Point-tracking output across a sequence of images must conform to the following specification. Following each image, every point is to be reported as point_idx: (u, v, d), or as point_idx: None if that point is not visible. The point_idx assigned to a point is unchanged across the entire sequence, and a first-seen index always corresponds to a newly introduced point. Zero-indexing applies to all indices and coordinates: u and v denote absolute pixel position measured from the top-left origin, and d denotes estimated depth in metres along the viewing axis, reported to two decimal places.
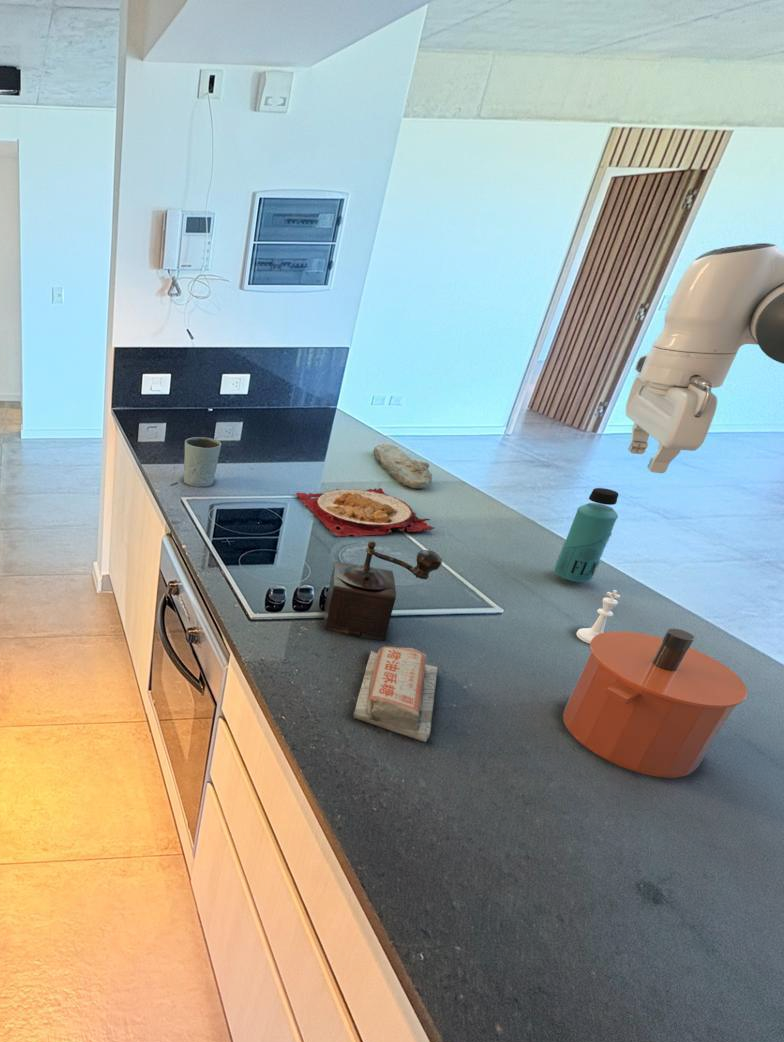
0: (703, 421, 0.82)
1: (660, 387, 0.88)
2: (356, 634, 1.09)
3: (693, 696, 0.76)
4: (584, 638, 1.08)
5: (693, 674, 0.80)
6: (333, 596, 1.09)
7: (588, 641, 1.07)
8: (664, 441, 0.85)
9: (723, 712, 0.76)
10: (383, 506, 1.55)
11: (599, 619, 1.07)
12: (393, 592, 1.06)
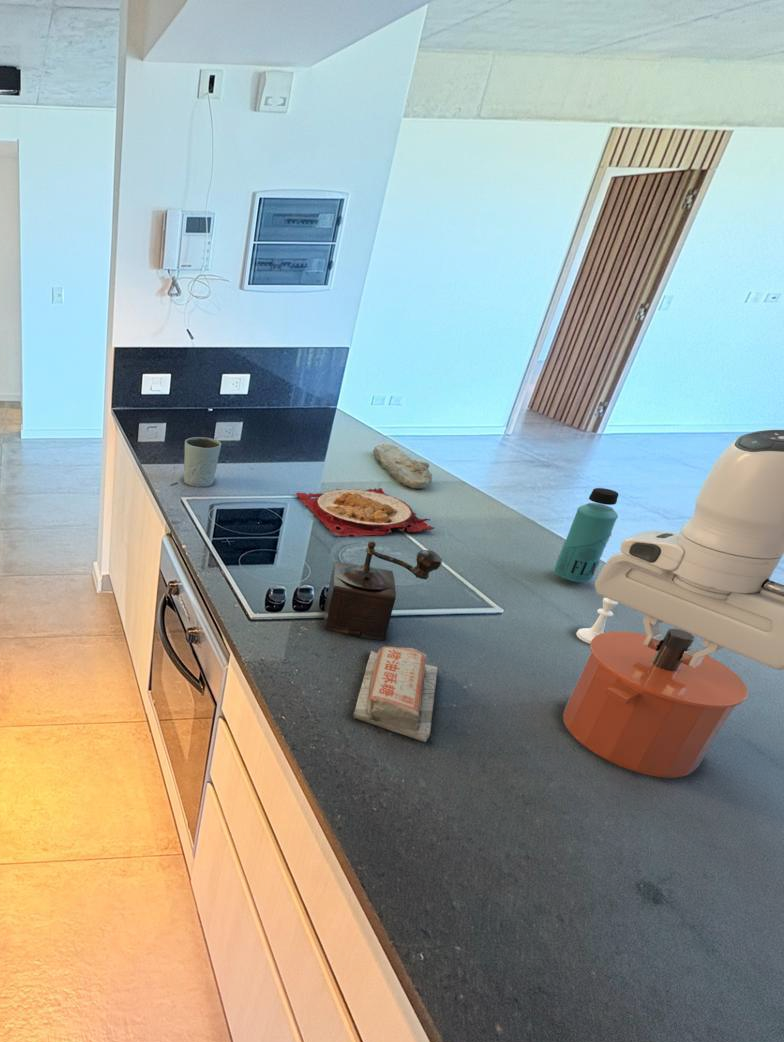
0: None
1: (719, 591, 0.73)
2: (356, 634, 1.09)
3: (693, 696, 0.76)
4: (584, 638, 1.08)
5: (693, 674, 0.80)
6: (333, 596, 1.09)
7: (588, 641, 1.07)
8: (772, 662, 0.71)
9: (723, 712, 0.76)
10: (383, 506, 1.55)
11: (599, 619, 1.07)
12: (392, 592, 1.06)
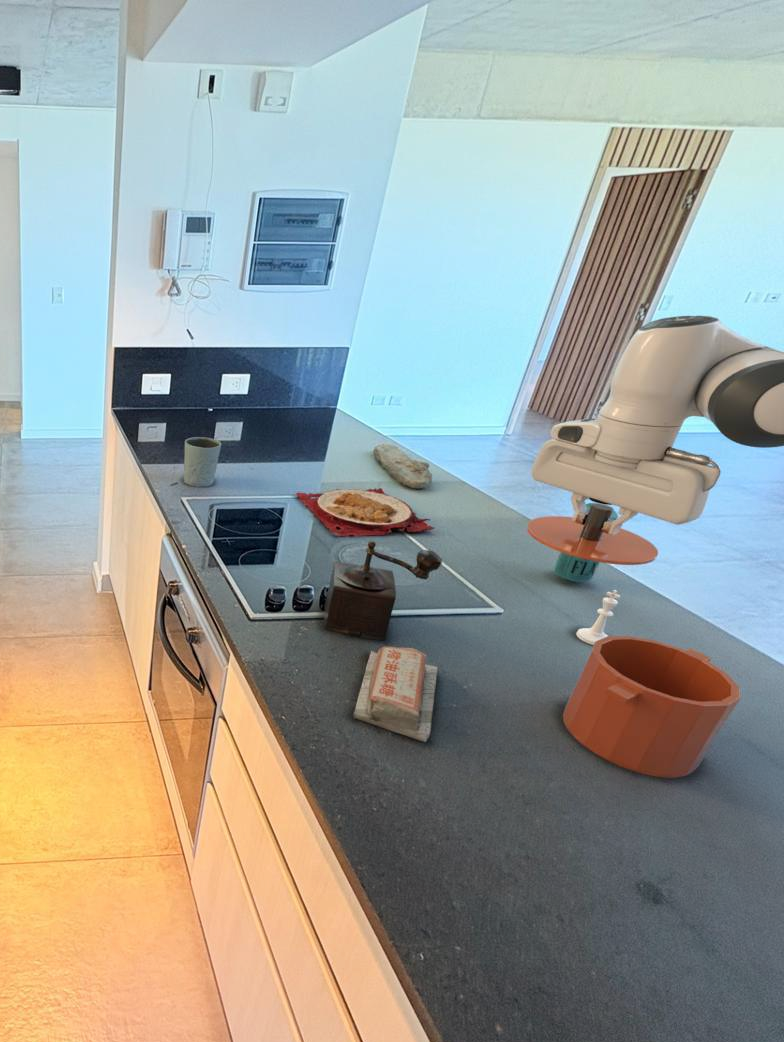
0: (706, 494, 0.80)
1: (630, 461, 0.84)
2: (356, 634, 1.09)
3: (610, 556, 0.87)
4: (584, 638, 1.08)
5: (613, 543, 0.91)
6: (333, 596, 1.09)
7: (588, 641, 1.07)
8: (673, 518, 0.82)
9: (723, 712, 0.76)
10: (383, 506, 1.55)
11: (599, 619, 1.07)
12: (393, 592, 1.06)
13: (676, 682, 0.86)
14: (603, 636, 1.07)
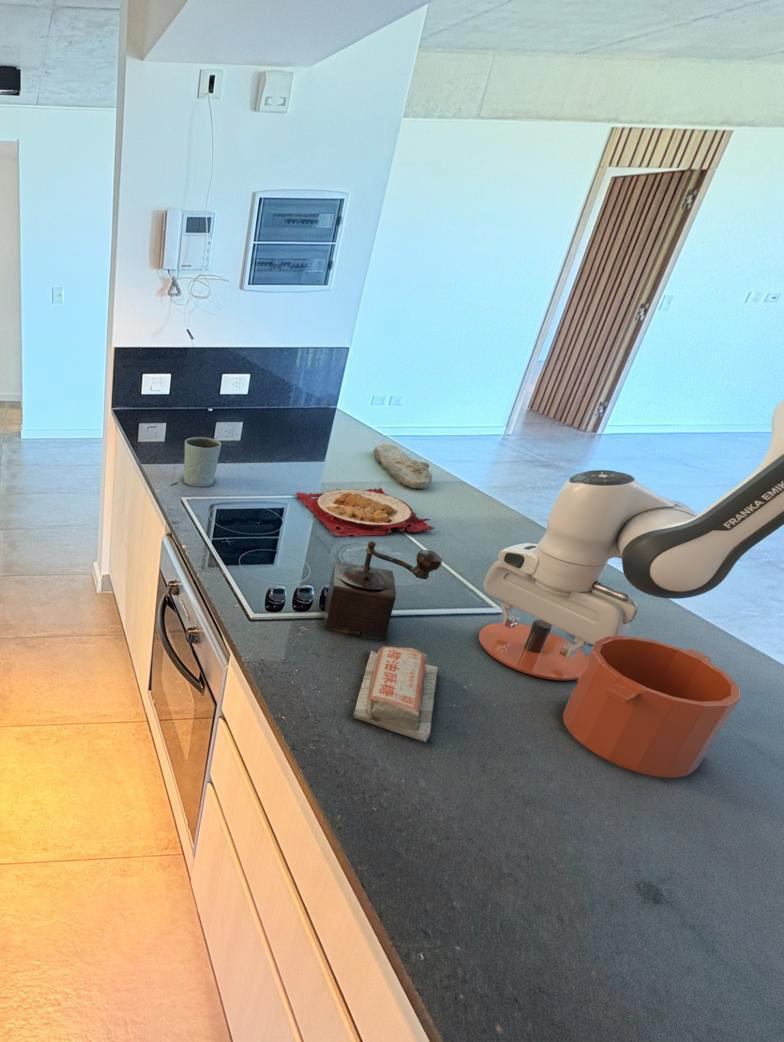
0: (627, 625, 0.92)
1: (563, 590, 0.96)
2: (356, 634, 1.09)
3: (547, 671, 0.99)
4: None
5: (553, 655, 1.03)
6: (333, 596, 1.09)
7: None
8: None
9: (723, 712, 0.76)
10: (383, 506, 1.55)
11: None
12: (392, 592, 1.06)
13: (676, 682, 0.86)
14: None
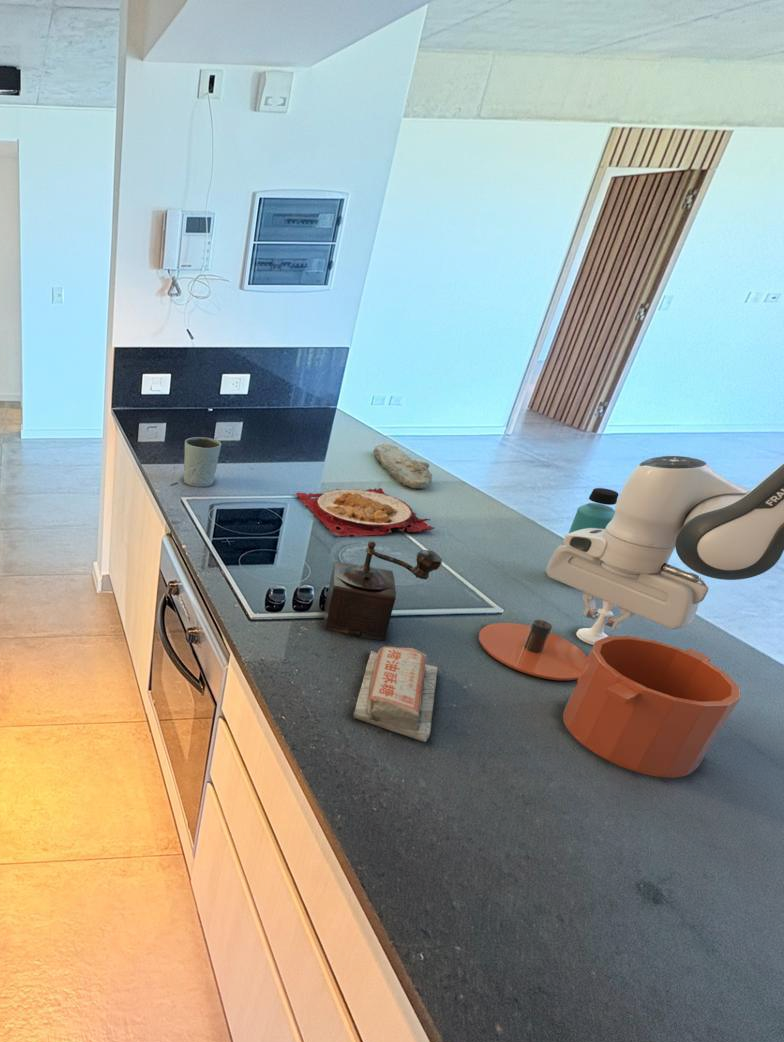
0: (696, 605, 0.95)
1: (632, 572, 0.99)
2: (356, 634, 1.09)
3: (547, 671, 0.99)
4: (584, 638, 1.08)
5: (553, 655, 1.03)
6: (333, 596, 1.09)
7: (588, 641, 1.07)
8: (668, 624, 0.97)
9: (723, 712, 0.76)
10: (383, 506, 1.55)
11: (599, 619, 1.07)
12: (393, 592, 1.06)
13: (676, 682, 0.86)
14: (603, 636, 1.07)
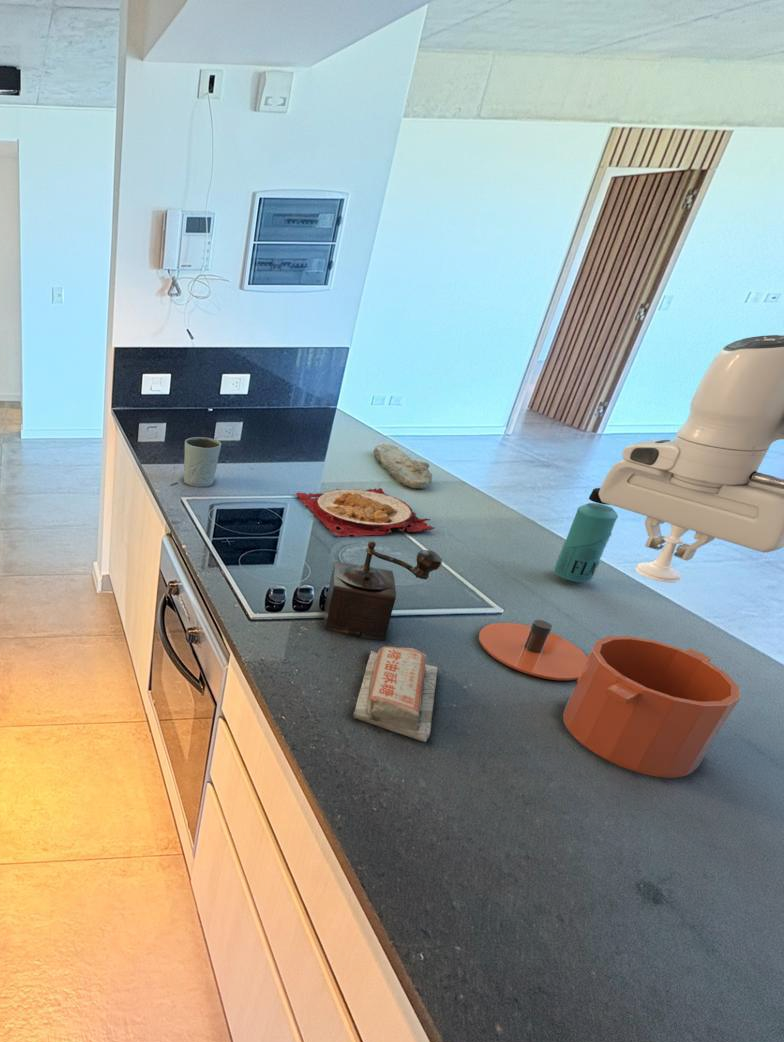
0: None
1: (711, 485, 0.81)
2: (356, 634, 1.09)
3: (547, 671, 0.99)
4: (647, 573, 0.89)
5: (553, 655, 1.03)
6: (333, 596, 1.09)
7: (652, 576, 0.89)
8: (759, 546, 0.78)
9: (723, 712, 0.76)
10: (383, 506, 1.55)
11: (666, 549, 0.88)
12: (393, 592, 1.06)
13: (676, 682, 0.86)
14: (670, 570, 0.89)
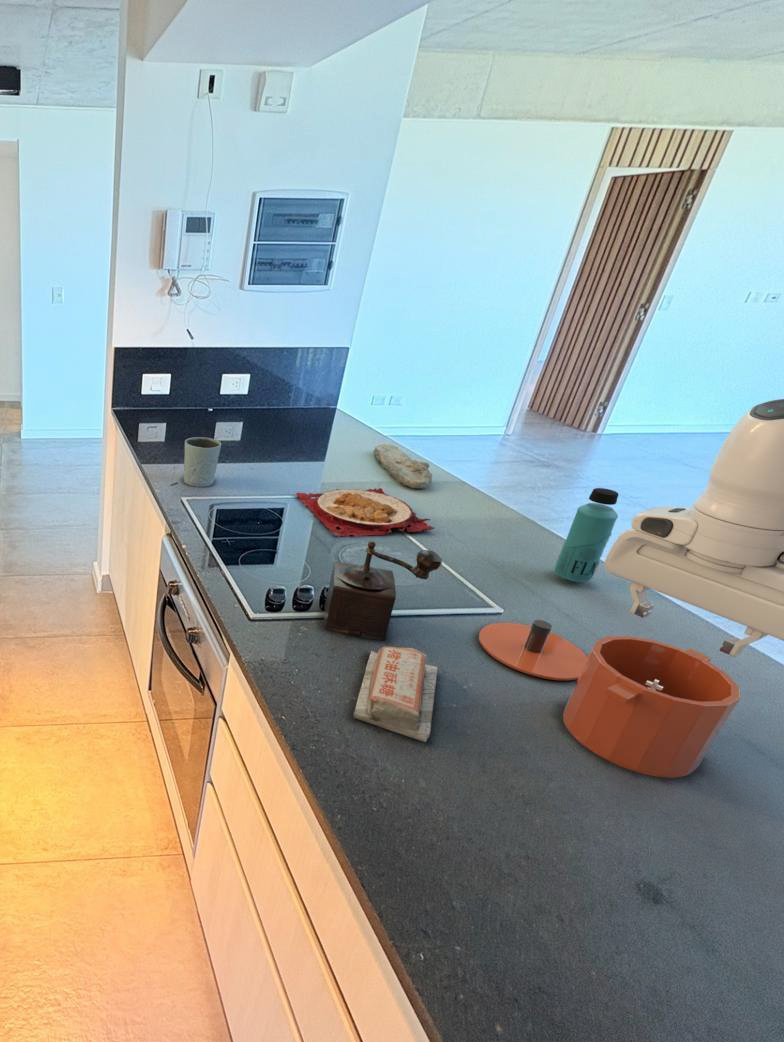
0: None
1: (734, 565, 0.72)
2: (356, 634, 1.09)
3: (547, 671, 0.99)
4: None
5: (553, 655, 1.03)
6: (333, 596, 1.09)
7: None
8: None
9: (723, 712, 0.76)
10: (383, 506, 1.55)
11: None
12: (393, 592, 1.06)
13: (676, 682, 0.86)
14: None
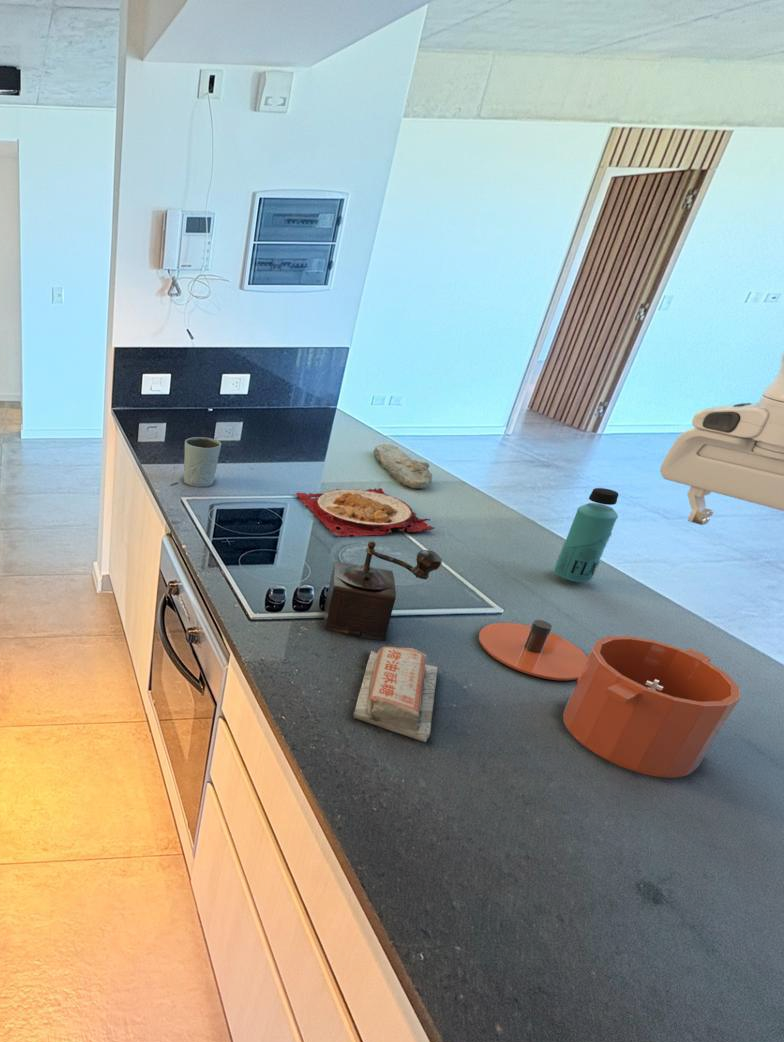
0: None
1: None
2: (356, 634, 1.09)
3: (547, 671, 0.99)
4: None
5: (553, 655, 1.03)
6: (333, 596, 1.09)
7: None
8: None
9: (723, 712, 0.76)
10: (383, 506, 1.55)
11: None
12: (393, 592, 1.06)
13: (676, 682, 0.86)
14: None
